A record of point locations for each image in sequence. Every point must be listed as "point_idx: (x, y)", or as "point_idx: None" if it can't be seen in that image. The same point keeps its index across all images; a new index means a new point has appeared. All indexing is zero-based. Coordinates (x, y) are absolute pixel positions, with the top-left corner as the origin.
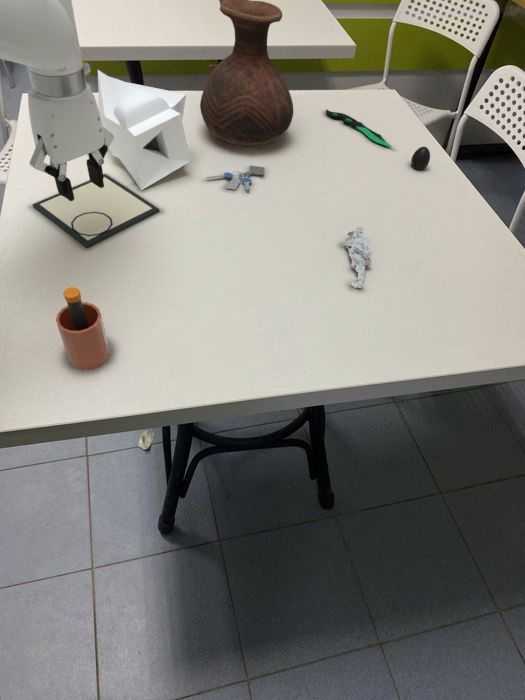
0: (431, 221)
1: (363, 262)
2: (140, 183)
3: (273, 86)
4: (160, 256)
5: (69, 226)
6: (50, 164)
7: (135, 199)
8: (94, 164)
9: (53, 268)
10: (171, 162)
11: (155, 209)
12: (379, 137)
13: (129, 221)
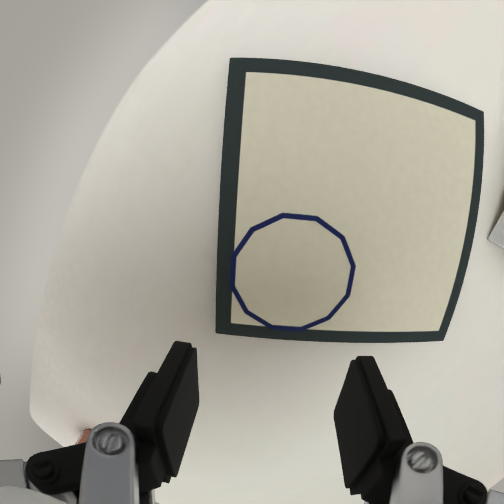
0: (492, 475)
1: None
2: (500, 245)
3: None
4: (308, 430)
5: (235, 237)
6: (84, 479)
7: (451, 274)
8: (361, 487)
9: (121, 321)
10: None
11: (438, 337)
12: None
13: (367, 336)
